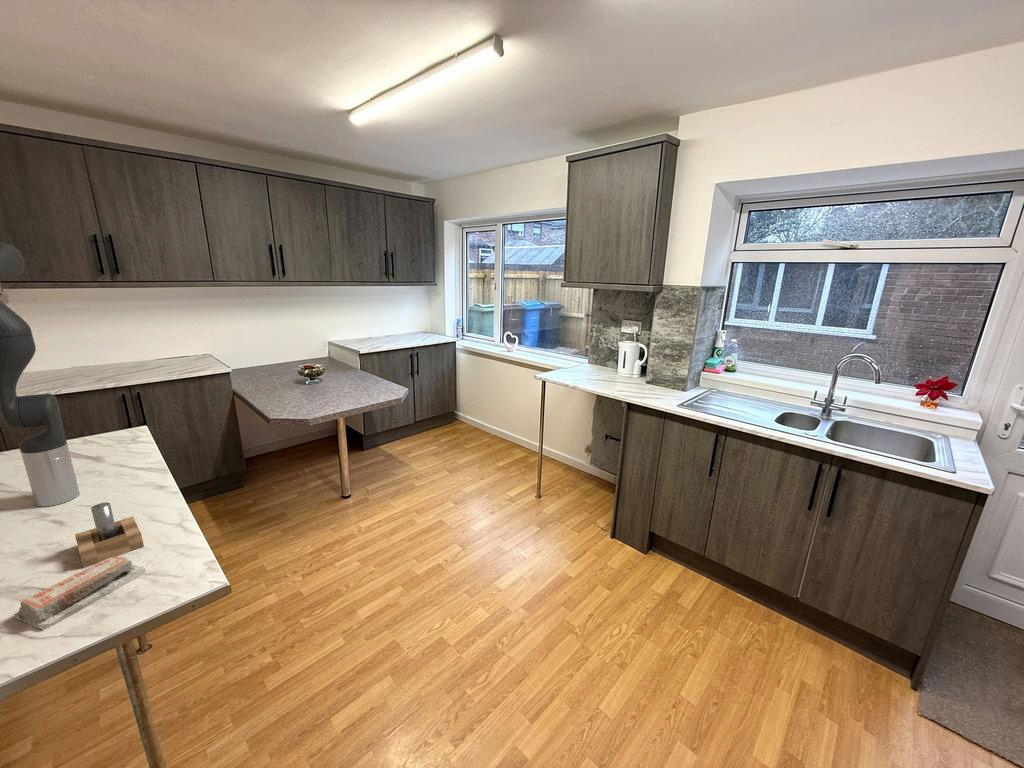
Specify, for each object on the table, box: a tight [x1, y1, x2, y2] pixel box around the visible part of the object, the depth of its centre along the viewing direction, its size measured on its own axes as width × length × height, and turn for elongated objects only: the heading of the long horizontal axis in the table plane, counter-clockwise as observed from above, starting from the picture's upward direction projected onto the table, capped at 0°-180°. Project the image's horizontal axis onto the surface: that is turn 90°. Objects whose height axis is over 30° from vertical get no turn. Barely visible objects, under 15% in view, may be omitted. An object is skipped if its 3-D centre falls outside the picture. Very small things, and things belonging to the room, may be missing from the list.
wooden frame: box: [74, 516, 145, 569], centre depth 105 cm, size 11×11×4 cm
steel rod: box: [90, 502, 118, 542], centre depth 104 cm, size 3×3×12 cm
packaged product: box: [13, 556, 146, 631], centre depth 90 cm, size 18×5×10 cm
